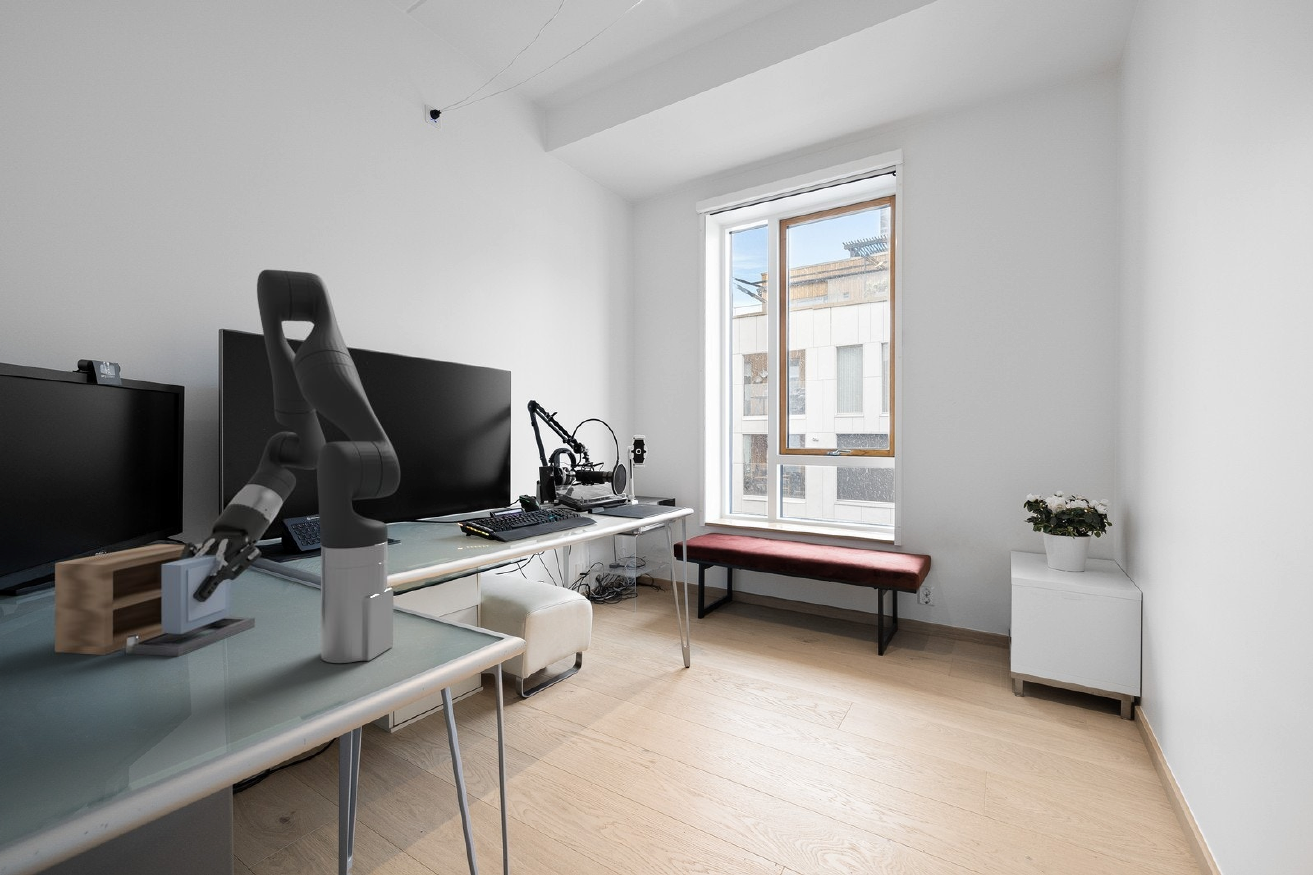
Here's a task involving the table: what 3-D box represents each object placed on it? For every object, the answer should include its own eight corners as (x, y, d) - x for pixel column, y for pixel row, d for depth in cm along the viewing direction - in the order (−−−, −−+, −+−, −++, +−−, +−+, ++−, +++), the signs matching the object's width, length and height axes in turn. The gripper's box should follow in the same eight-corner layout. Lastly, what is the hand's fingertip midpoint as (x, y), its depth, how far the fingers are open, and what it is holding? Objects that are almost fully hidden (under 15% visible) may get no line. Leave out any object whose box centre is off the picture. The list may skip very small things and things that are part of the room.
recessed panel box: (231, 615, 99) (231, 553, 98) (181, 634, 90) (181, 565, 90) (212, 614, 99) (212, 552, 99) (161, 632, 90) (161, 564, 90)
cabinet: (200, 621, 103) (200, 545, 103) (104, 654, 87) (104, 564, 87) (157, 619, 104) (157, 544, 104) (54, 652, 88) (55, 563, 88)
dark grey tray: (255, 625, 101) (255, 612, 101) (177, 656, 86) (177, 640, 86) (208, 623, 102) (208, 609, 102) (123, 653, 88) (123, 637, 88)
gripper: (202, 501, 103) (132, 585, 91) (272, 503, 101) (210, 589, 89) (227, 525, 108) (164, 608, 96) (294, 527, 106) (239, 612, 94)
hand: (187, 598), depth 92 cm, fingers closed on recessed panel box, 3 cm apart
